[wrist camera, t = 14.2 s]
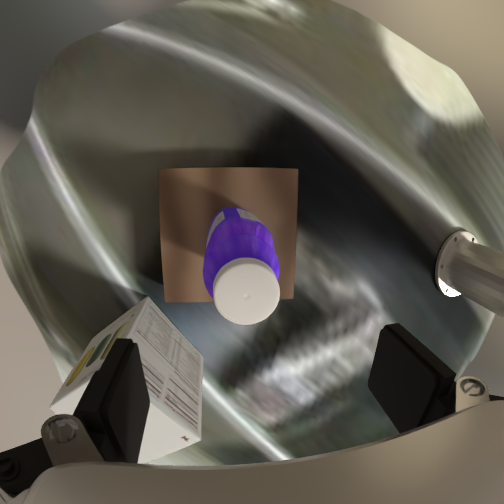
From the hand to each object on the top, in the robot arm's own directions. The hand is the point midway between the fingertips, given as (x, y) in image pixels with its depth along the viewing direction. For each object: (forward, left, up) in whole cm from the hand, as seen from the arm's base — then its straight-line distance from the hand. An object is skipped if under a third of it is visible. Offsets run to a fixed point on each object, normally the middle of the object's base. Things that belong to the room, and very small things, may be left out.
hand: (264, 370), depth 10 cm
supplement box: (+13, +18, -30) cm, 38 cm away
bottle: (0, 0, -25) cm, 25 cm away
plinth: (0, 0, -30) cm, 30 cm away
